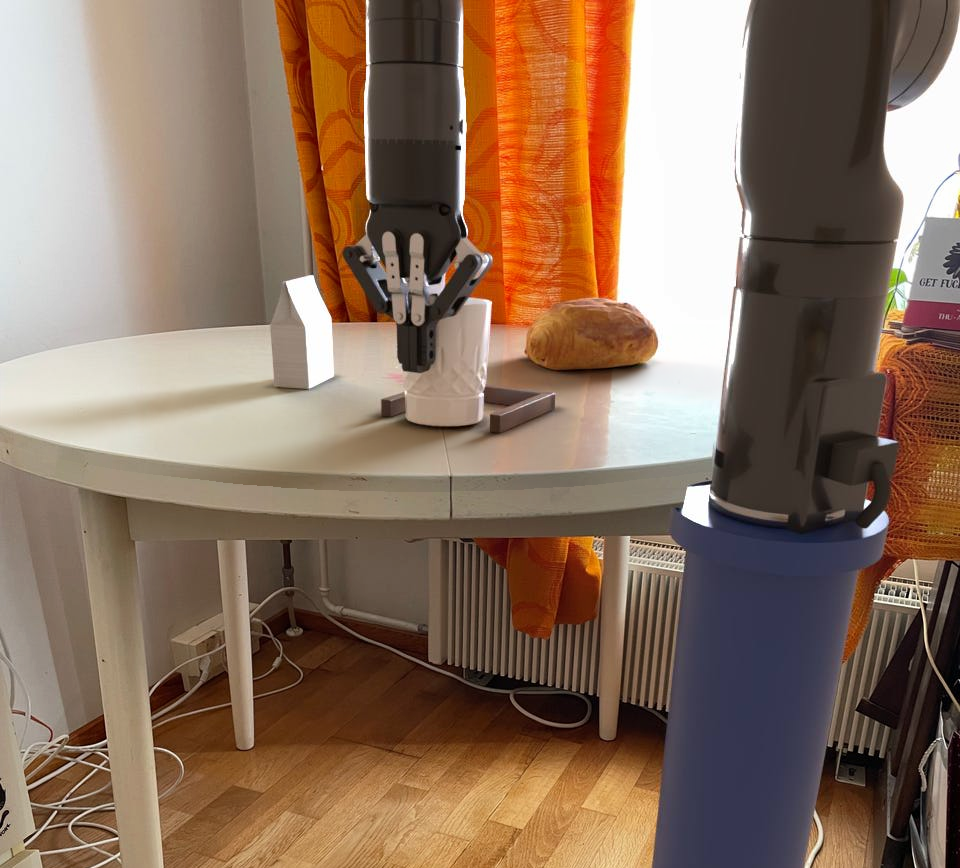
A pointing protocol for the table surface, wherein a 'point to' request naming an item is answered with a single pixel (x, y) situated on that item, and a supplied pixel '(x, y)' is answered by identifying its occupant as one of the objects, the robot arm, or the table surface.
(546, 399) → the bay
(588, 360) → the bread loaf
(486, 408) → the table surface
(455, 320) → the white cup
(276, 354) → the white milk carton
